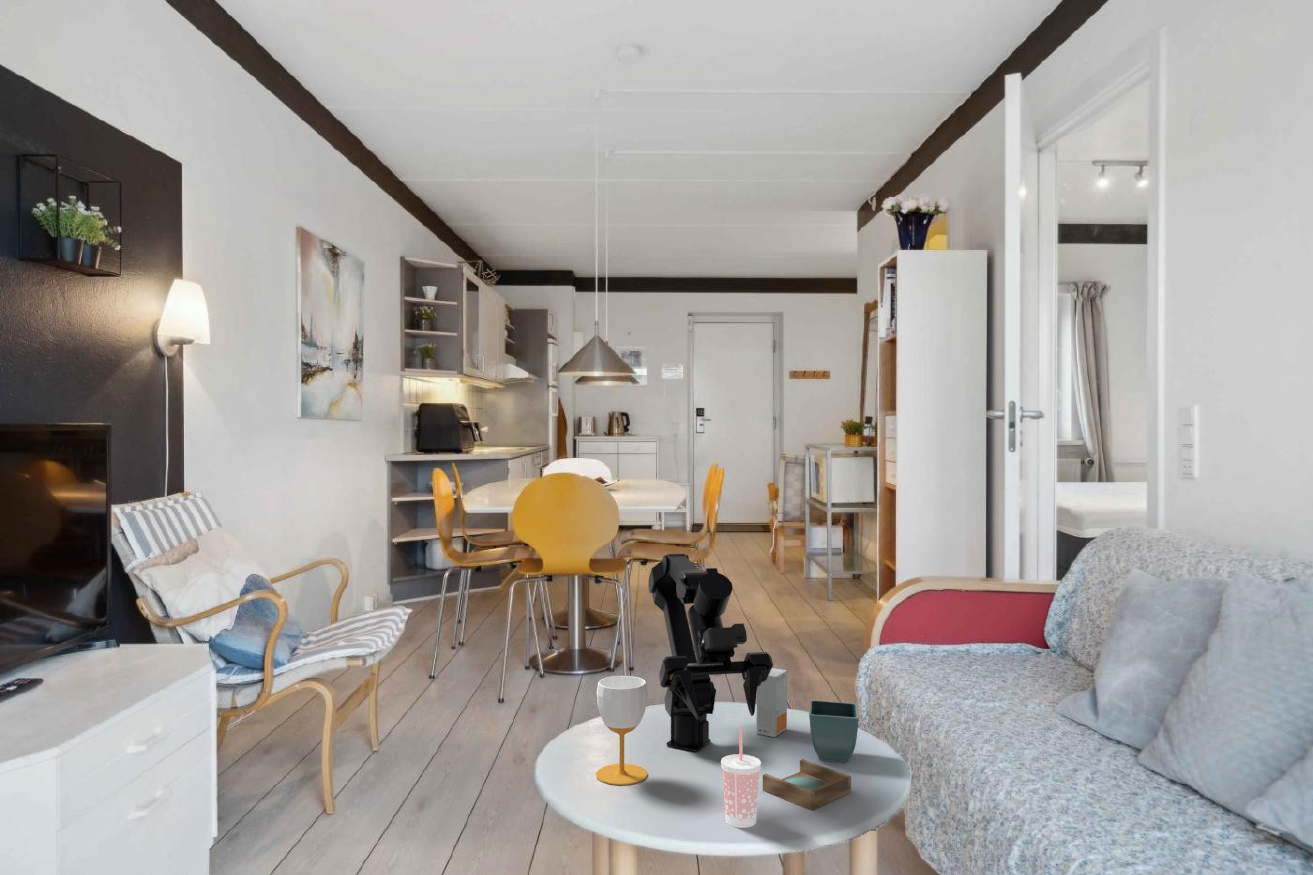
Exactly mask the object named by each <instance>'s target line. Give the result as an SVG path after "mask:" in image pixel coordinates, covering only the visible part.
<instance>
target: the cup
mask: <svg viewBox="0 0 1313 875" xmlns="http://www.w3.org/2000/svg"><path fill="white" fill-rule="evenodd" d="M648 693H649V692H648V685H647V682H646V680H645V679H643V678H641V677H638V676H632V675H612V676H606V677H604V678H602V679H600V680H598V682H597V688H596V700H597V708H598V712H599V715H600V717H601V720H602V722H603V724H604V725H605V727H607V728H608V729H609V730H610V731H611V732H612V733H616V734H617V735H618V736H619V755H618V756H619V760H618V762H619V763H613V764H609V765H605V766H603V767H601V768H599V769H597V771H596V773H595V777H596V779H597V780H598V781H600V782H602V783H604V784H607V785H610V786H630V785H635V784H638V783H641V782H643V781H645V780H646V779H647V777H648V771H647V770H646V769H645V768H643V766H641V765H637V764H631V763H625V735H627V734H628V733H631V732H633V731H634V730H635V729H636V728H637V727H638V726H639V725H640V724H641V722H642V720H643V717H644V715H645V713H646V709H647V704H648V696H649V694H648Z"/></svg>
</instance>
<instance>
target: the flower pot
mask: <svg viewBox="0 0 1313 875" xmlns="http://www.w3.org/2000/svg"><path fill="white" fill-rule="evenodd" d="M858 709H859V707H858V704H857V703H853V702H840V701H829V700H816V699H815V700H814V699H812V700H809V710H808V711H809V712H808V715H809V716H808V717H809V727H810V728H809V729H810V738H811V743H812V747H813V751H814V752H815V753H816V756H817V758H818V759H819V760H820V761H828V762H840V763H847V762H848V761H850V759H851V757H852V755H853V753H854V751H855V749H856V746H857V738H858V732H859V721H860V720H859V719H860V715H859V710H858Z"/></svg>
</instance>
